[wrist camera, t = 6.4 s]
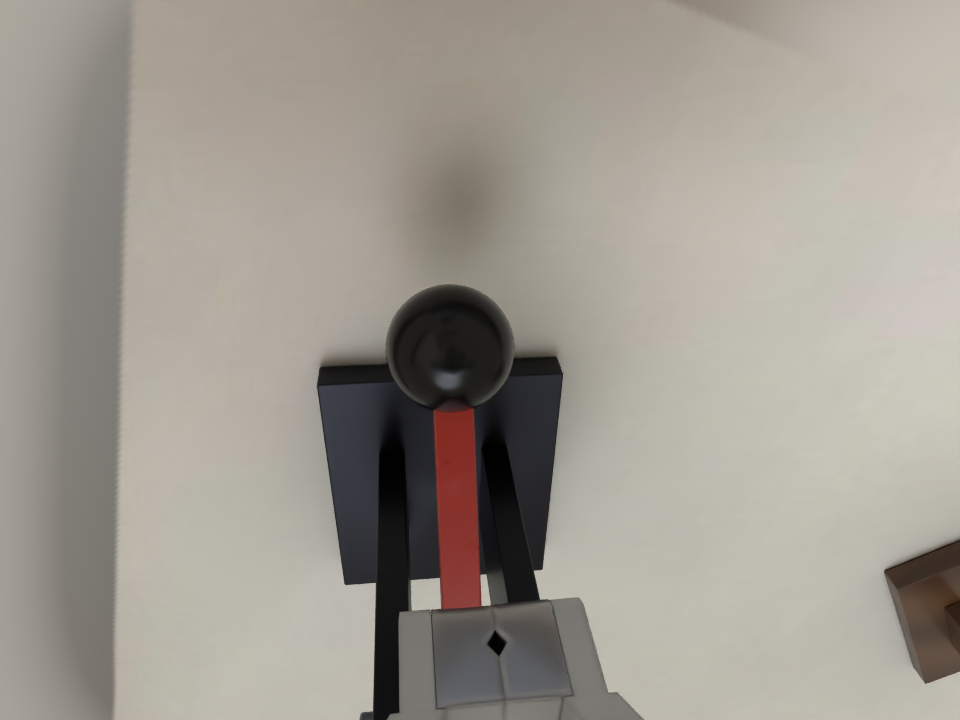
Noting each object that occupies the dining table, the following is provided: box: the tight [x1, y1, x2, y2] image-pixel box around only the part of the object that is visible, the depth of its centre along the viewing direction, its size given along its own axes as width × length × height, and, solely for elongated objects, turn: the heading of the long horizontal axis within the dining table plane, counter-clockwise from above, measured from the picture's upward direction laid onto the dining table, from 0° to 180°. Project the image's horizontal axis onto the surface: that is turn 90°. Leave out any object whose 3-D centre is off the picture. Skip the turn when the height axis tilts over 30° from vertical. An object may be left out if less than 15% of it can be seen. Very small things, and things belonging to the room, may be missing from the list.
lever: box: [385, 284, 515, 609], centre depth 19 cm, size 14×4×4 cm
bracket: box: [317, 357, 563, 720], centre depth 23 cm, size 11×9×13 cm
